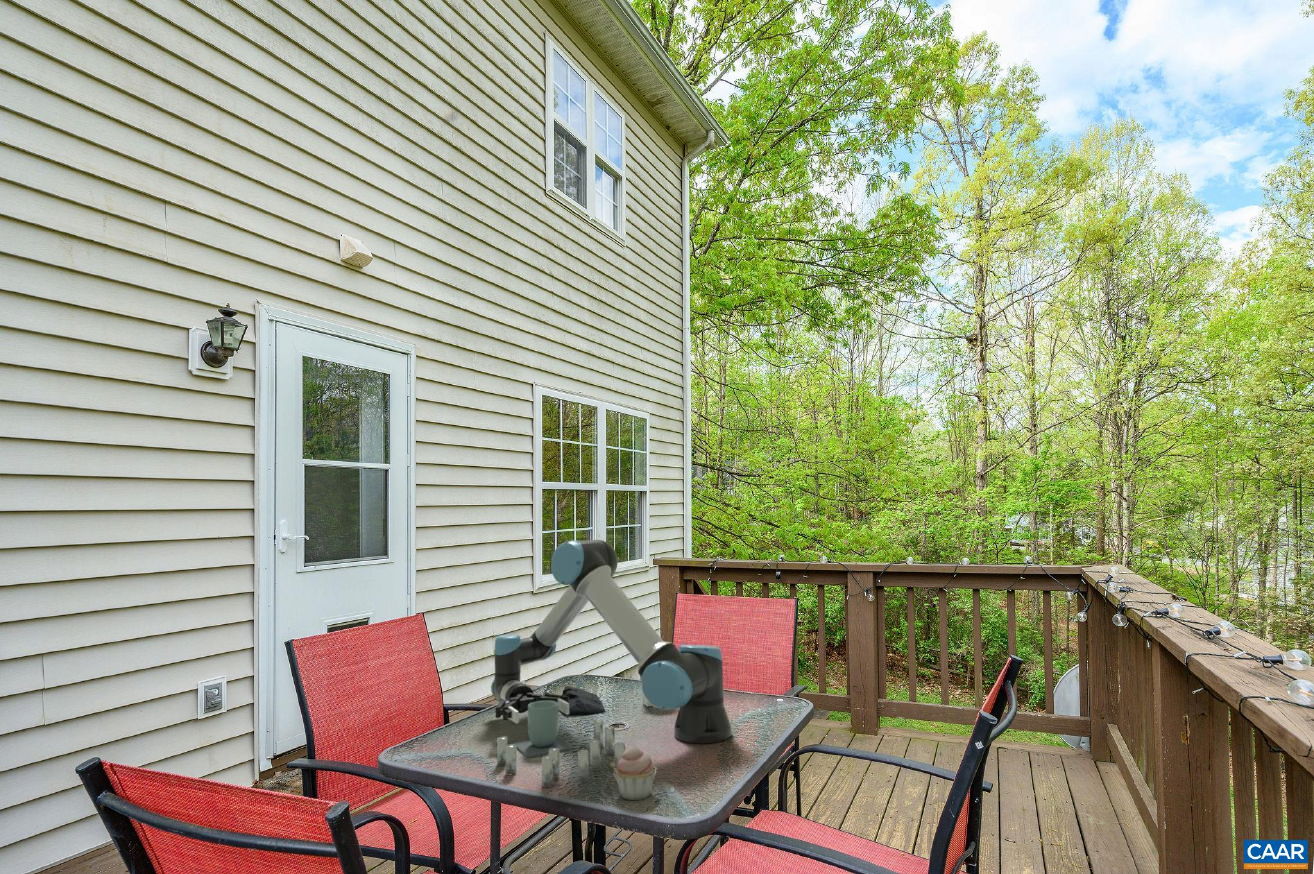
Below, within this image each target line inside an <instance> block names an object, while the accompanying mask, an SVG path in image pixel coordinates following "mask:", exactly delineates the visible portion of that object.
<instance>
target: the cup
mask: <svg viewBox="0 0 1314 874" xmlns="http://www.w3.org/2000/svg"><path fill="white" fill-rule="evenodd" d="M558 732H559V710H558V703H557V702H555V701H537V702H532V703H530V704H529V705H528V710H527V733H528V740H530V742H531V743H532V744H533V745H534V746H536V747H547V746H550V745H552V744H553V743H554V742H555V741H556V738H557V736H558Z"/></svg>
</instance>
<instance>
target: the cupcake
mask: <svg viewBox="0 0 1314 874" xmlns="http://www.w3.org/2000/svg"><path fill="white" fill-rule="evenodd" d="M627 748H628V749H626V750H625V752H624V753H623V756H622V758H620V760H619V761H618V764H617V768H615V769H614V770H613V771H614V772H613V773H612V774H613V776H614V778H615V780H616V782H617V783H616V784H617V786H618V791H619V794H620V796H621V798H622V799H625V800H630V801H640V800H644V799H646V798H648V797H650V795H651V793H652V790H653V789H652V787H653V782H654V780H655V777H656V775H657V769H658V768H657V767H655V766H654V762H653V760H652V758H651V755H650V753H648V751H647V752H646V751H645V750H641V748H640V747H639V746H638V745H637V744H636V743H633V745H631V746H629V747H627Z"/></svg>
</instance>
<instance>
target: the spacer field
mask: <svg viewBox="0 0 1314 874" xmlns="http://www.w3.org/2000/svg"><path fill="white" fill-rule="evenodd" d="M615 731H616V730H615V727H614V726H605V727H604V720H602V719H595V720H593V740H590V741H589V750H587V749H580V750H578V751H577V781H578V782H579V781H581V782H580V783H585V782H584V781H587V782H588V780H589V781H590V771H592V772H594V771H595V772H596V771H600V770H601V748H603V747H604V749H605V751H604V752H605V753H604V754H605V755H606V754H607V755H606V756H611V755H612V756H613V755H614V760H612V761H611V762H610V769H611V770H612V771H614V769H615V768H617V764H618V761H619V760H620V758H622V756H623V753H624V752H625V750H626V749H628V748H629V747H626V743H624V742H616V734H615V733H616V732H615ZM508 738H509V737H508V736H499V737H497V738H496V739H497V740H496V745H497V748H496V752H497V753H496V765H497V766H498V765H499V766H498V767H503V766H502V765H506V766H505V775H506V774H514V775H516V774H517V748H516V745H515V744H513V743H511V744H508ZM560 765H561V763H560V752H559V748H551V749H549V754H547V755H542V757H541V787H542V788H543V789H550V788H549V787H551V788H553V787H554V780H553V779H555V780H558V779H560V778H559V777H561V776H560V775H561V774H560ZM515 773H516V774H515ZM552 786H553V787H552Z"/></svg>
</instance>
